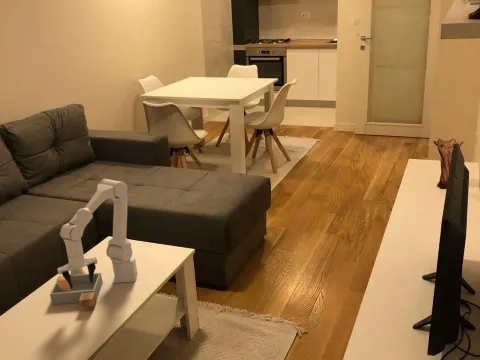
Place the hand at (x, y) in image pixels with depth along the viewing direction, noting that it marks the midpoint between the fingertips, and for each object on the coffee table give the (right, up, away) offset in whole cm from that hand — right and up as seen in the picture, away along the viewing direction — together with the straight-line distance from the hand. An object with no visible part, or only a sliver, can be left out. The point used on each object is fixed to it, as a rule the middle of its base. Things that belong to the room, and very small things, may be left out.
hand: (81, 284), depth 201 cm
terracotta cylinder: (-9, -6, +11) cm, 16 cm away
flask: (-8, -2, +23) cm, 25 cm away
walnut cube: (+2, -9, +2) cm, 10 cm away
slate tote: (-5, -6, +11) cm, 14 cm away
